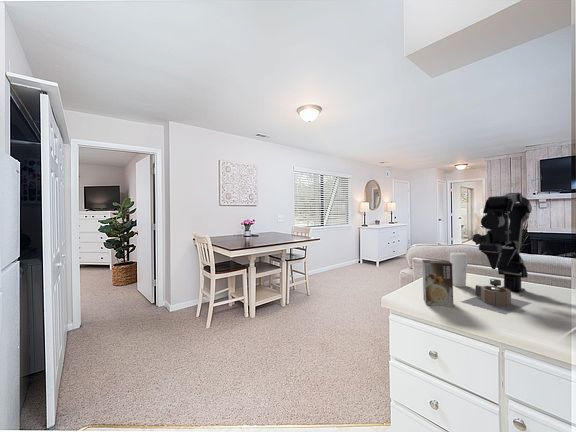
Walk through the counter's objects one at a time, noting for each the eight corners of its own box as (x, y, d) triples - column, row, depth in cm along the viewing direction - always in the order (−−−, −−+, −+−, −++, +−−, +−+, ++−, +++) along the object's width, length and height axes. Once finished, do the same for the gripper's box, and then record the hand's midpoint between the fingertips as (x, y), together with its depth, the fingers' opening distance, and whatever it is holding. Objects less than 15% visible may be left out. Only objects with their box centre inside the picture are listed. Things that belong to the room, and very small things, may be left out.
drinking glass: (470, 288, 115) (470, 254, 115) (453, 287, 116) (453, 254, 116) (463, 284, 122) (463, 252, 121) (447, 283, 123) (447, 252, 123)
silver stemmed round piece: (491, 298, 100) (490, 277, 100) (507, 302, 96) (507, 280, 96) (484, 300, 98) (483, 279, 98) (500, 305, 93) (500, 282, 93)
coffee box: (449, 301, 100) (449, 260, 99) (453, 307, 94) (453, 263, 93) (422, 299, 103) (422, 259, 102) (425, 305, 97) (424, 262, 96)
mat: (487, 293, 108) (487, 292, 108) (531, 303, 96) (531, 302, 96) (460, 302, 98) (460, 301, 98) (505, 315, 86) (505, 314, 86)
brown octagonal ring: (481, 295, 105) (481, 283, 105) (514, 303, 95) (514, 290, 95) (470, 299, 101) (470, 286, 101) (503, 307, 91) (503, 293, 91)
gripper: (487, 225, 113) (488, 261, 114) (464, 228, 105) (464, 266, 105) (520, 227, 104) (520, 265, 104) (496, 229, 95) (496, 272, 95)
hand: (499, 267), depth 102 cm, fingers open, 9 cm apart
